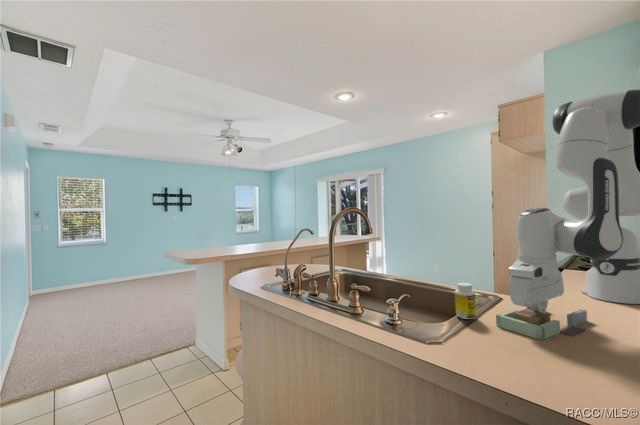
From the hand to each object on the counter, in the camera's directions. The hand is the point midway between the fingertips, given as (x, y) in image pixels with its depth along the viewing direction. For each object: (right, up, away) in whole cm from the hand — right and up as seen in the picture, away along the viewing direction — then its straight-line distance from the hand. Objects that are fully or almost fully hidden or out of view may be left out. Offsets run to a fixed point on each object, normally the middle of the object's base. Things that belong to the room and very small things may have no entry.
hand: (539, 316), depth 83 cm
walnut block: (-4, -3, -2) cm, 5 cm away
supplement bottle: (-17, -3, +8) cm, 19 cm away
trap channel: (+1, -2, 0) cm, 2 cm away
